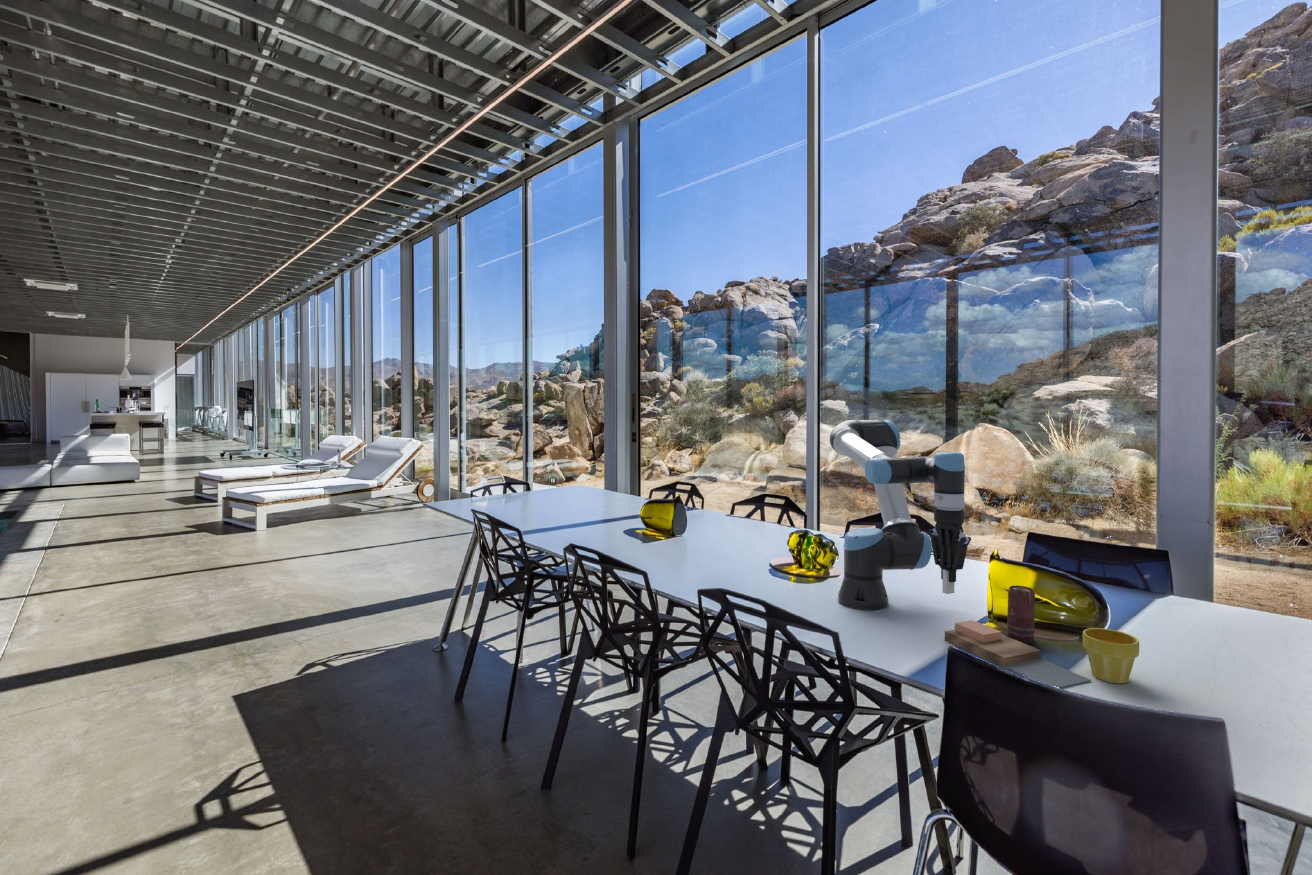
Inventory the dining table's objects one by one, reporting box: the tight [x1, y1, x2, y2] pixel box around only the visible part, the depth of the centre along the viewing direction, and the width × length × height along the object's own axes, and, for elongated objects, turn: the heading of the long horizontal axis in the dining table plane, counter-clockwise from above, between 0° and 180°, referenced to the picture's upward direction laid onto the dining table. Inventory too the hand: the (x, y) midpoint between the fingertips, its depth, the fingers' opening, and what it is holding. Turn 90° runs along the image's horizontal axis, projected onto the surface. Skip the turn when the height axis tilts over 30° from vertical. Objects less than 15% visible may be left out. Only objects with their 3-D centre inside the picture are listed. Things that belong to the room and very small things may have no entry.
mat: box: [1004, 658, 1092, 689], centre depth 137 cm, size 12×12×1 cm
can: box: [1006, 585, 1036, 645], centre depth 157 cm, size 6×6×14 cm
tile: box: [954, 619, 1002, 643], centre depth 155 cm, size 9×6×2 cm, turn 19°
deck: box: [944, 628, 1042, 669], centre depth 151 cm, size 18×12×2 cm, turn 19°
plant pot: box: [1082, 627, 1140, 685], centre depth 135 cm, size 10×10×10 cm
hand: (948, 592), depth 163 cm, fingers closed
